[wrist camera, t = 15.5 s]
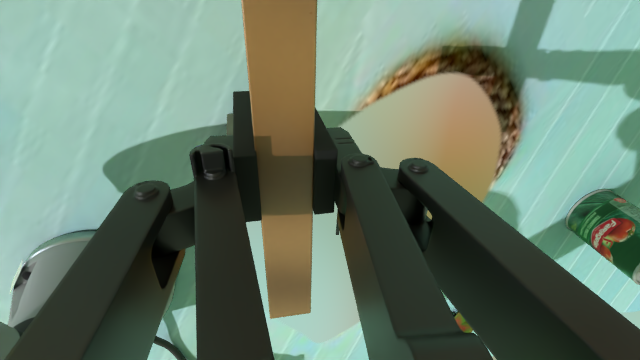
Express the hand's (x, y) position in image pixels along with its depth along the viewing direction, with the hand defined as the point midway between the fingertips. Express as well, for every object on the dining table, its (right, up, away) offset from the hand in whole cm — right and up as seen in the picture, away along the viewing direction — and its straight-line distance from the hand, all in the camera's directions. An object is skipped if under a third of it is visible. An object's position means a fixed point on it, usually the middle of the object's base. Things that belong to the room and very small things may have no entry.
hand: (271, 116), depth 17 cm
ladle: (-1, +4, +4) cm, 6 cm away
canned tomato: (+43, -8, +34) cm, 56 cm away
